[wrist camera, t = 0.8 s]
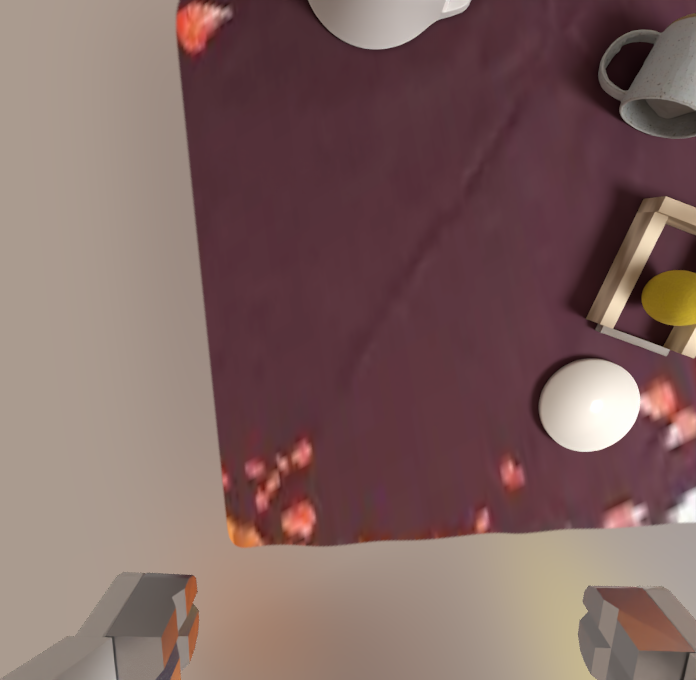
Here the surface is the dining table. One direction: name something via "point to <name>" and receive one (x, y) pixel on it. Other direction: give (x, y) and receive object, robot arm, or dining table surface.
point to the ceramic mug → (659, 81)
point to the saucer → (589, 404)
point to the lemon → (671, 298)
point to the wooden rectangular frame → (631, 265)
